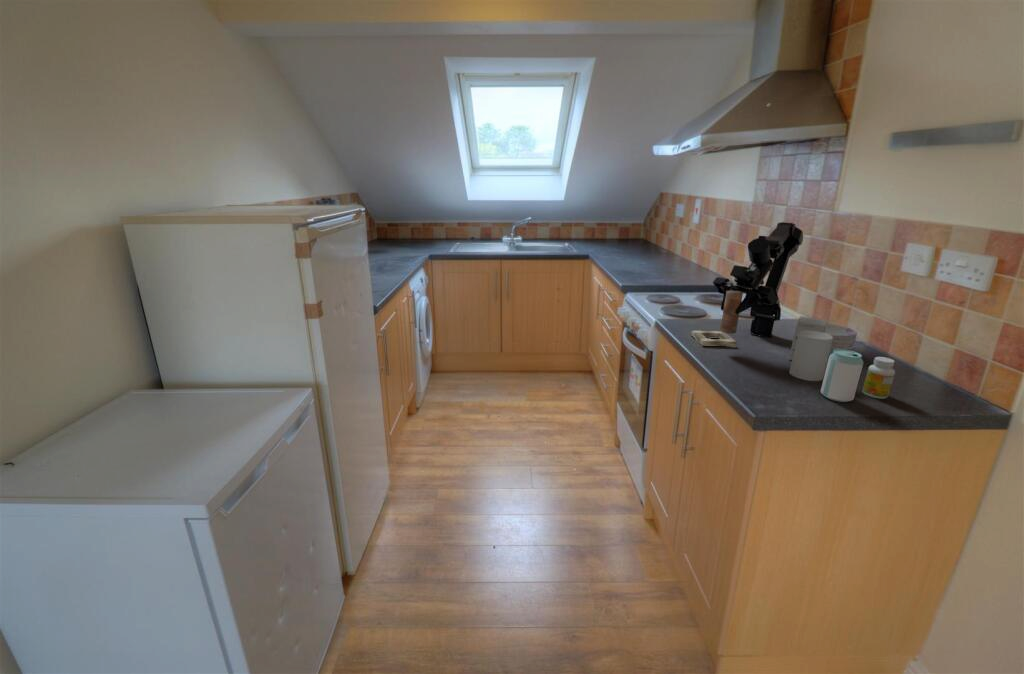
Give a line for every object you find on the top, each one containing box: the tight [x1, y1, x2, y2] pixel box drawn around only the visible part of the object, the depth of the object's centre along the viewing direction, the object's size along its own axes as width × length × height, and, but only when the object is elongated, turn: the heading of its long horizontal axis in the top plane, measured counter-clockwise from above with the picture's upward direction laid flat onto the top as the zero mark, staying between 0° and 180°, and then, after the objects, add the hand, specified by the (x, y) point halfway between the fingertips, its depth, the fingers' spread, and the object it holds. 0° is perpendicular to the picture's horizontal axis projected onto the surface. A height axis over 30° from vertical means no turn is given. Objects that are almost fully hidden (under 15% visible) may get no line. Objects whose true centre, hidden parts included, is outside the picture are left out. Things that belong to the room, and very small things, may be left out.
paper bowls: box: [825, 323, 858, 357], centre depth 151 cm, size 15×15×8 cm
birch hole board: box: [690, 330, 737, 348], centre depth 159 cm, size 11×11×2 cm
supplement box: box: [788, 316, 828, 361], centre depth 143 cm, size 7×7×13 cm
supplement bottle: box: [862, 356, 896, 400], centre depth 120 cm, size 5×5×10 cm
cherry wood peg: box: [719, 291, 744, 334], centre depth 146 cm, size 5×5×12 cm
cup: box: [789, 330, 833, 382], centre depth 131 cm, size 8×8×12 cm
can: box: [820, 349, 864, 403], centre depth 118 cm, size 7×7×12 cm
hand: (728, 311), depth 145 cm, fingers closed on cherry wood peg, 5 cm apart
